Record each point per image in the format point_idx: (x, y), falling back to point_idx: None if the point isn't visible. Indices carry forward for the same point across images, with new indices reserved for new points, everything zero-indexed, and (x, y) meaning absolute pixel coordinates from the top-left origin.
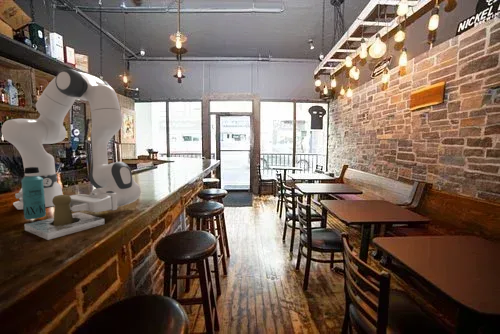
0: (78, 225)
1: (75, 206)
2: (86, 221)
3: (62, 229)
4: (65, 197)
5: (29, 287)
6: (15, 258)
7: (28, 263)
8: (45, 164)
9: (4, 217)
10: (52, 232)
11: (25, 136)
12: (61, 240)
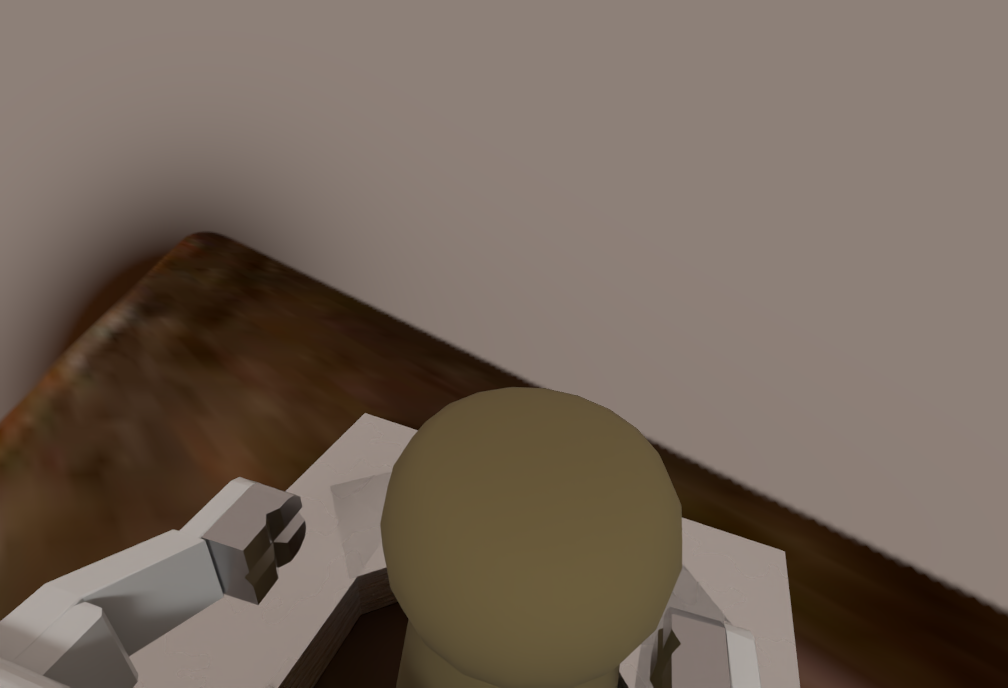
0: None
1: (214, 501)
2: None
3: (304, 474)
4: (414, 437)
5: (180, 245)
6: (358, 321)
7: (274, 302)
8: None
9: None
10: (348, 433)
11: None
12: (270, 449)
